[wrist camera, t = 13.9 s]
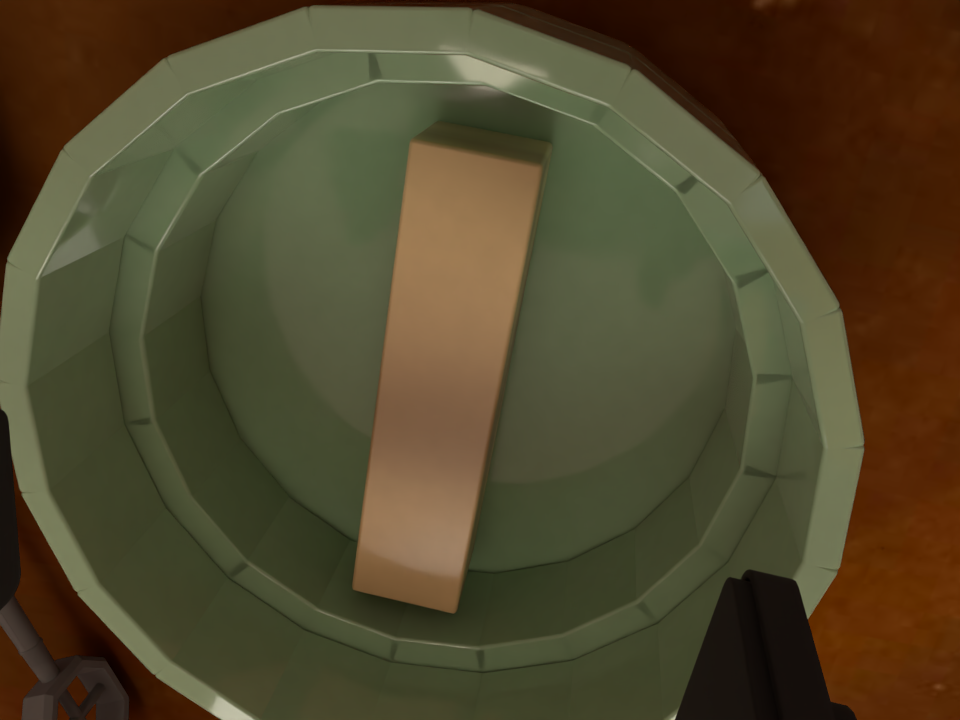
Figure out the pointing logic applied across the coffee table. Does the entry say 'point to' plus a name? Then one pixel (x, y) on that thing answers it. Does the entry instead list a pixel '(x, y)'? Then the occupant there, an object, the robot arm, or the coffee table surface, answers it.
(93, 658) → the key
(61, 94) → the coffee table surface
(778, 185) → the coffee table surface
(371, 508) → the rectangular block
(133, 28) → the coffee table surface
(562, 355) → the bowl
